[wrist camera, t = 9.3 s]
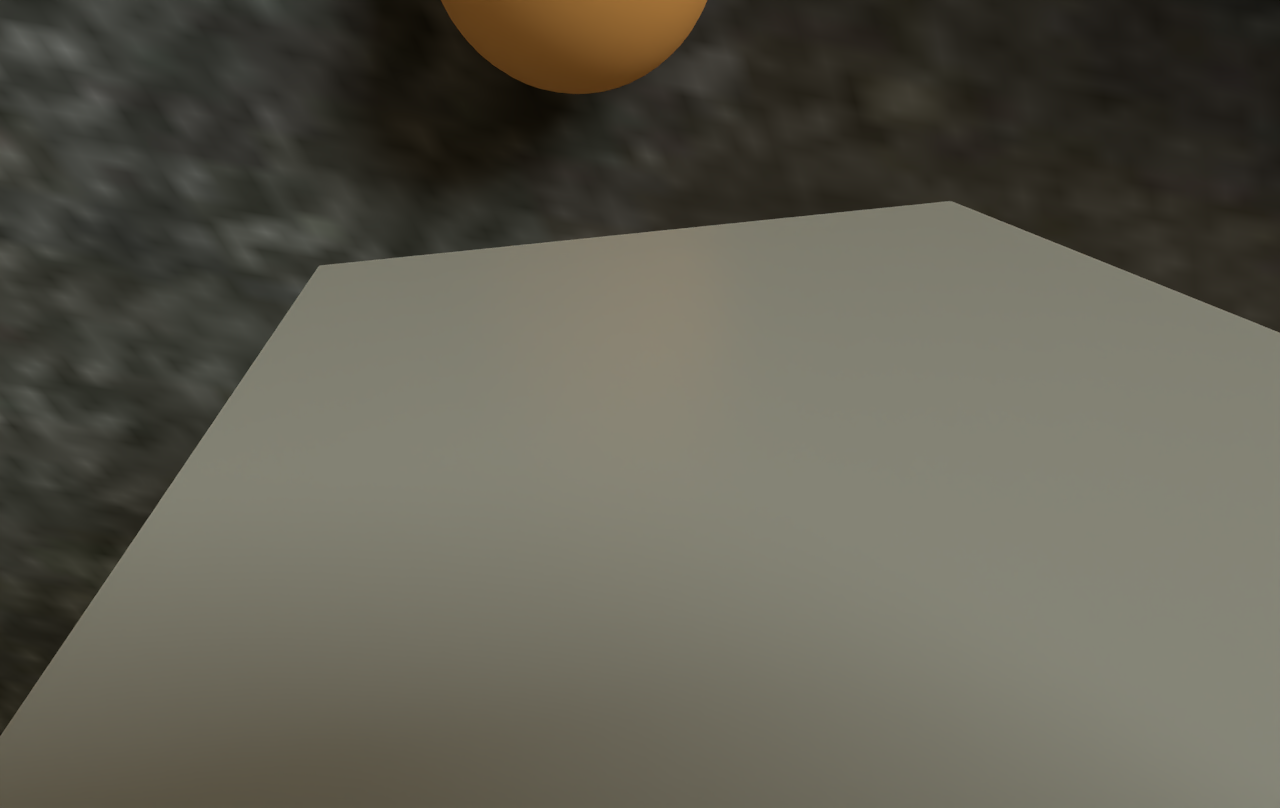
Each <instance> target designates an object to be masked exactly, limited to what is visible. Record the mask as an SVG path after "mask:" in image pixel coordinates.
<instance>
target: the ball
mask: <svg viewBox="0 0 1280 808" xmlns="http://www.w3.org/2000/svg"><path fill="white" fill-rule="evenodd" d="M441 2H442V4H443V6H444V7H445V9H446V11H447V13H448V15H449V16H450V18H451V20H452V21H453V23H454V24H455V26H456V27H457V28H458V30H459V31H460V32H461V34H462V35H463V36H464V38H465V39H466V40H467V41H468V42H469V43H470V44H471V45H472V47H473V48H474V49H475V50H476V51H477V52H478V53H479V54H480V55H481V56H483V57H484V58H485V59H486V60H487V61H489V62H490V63H491V64H492V65H494V66H495V67H497V68H498V69H500V70H501V71H503V72H505V73H506V74H508V75H509V76H511V77H512V78H515V79H517V80H519V81H521V82H523V83H525V84H527V85H530V86H533V87H536V88H539V89H543V90H548V91H553V92H558V93H569V94H590V93H597V92H603V91H607V90H611V89H615V88H618V87H621V86H623V85H626V84H629V83H631V82H633V81H635V80H637V79H639V78H641V77H643V76H644V75H646V74H647V73H649V72H650V71H652V70H653V69H655V68H656V67H657V66H659V65H660V64H661V63H662V62H663V61H665V60H666V59H667V58H668V57H669V56H671V55H672V53H673V52H674V51H675V50H676V49H677V48H678V47H679V46H680V45H681V44H682V43H683V41H684V40H685V39H686V37H687V36H688V35H689V33H690V32H691V31H692V29H693V27H694V25H695V24H696V22H697V20H698V18H699V17H700V15H701V13H702V11H703V9H704V7H705V4H706V2H707V0H441Z"/></svg>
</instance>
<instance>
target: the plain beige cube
mask: <svg viewBox="0 0 1280 808" xmlns="http://www.w3.org/2000/svg"><path fill="white" fill-rule="evenodd" d="M0 808H1280V333H1279V332H1276V331H1274V330H1271V329H1269V328H1266V327H1264V326H1261V325H1259V324H1256V323H1254V322H1251V321H1249V320H1246V319H1244V318H1241V317H1239V316H1236V315H1234V314H1231V313H1229V312H1226V311H1224V310H1221V309H1219V308H1216V307H1214V306H1211V305H1209V304H1206V303H1204V302H1201V301H1199V300H1196V299H1194V298H1191V297H1189V296H1186V295H1184V294H1181V293H1179V292H1176V291H1174V290H1172V289H1169V288H1167V287H1164V286H1162V285H1159V284H1157V283H1154V282H1152V281H1149V280H1147V279H1144V278H1142V277H1139V276H1137V275H1134V274H1132V273H1129V272H1127V271H1124V270H1122V269H1119V268H1117V267H1114V266H1112V265H1109V264H1107V263H1104V262H1102V261H1099V260H1097V259H1094V258H1092V257H1089V256H1087V255H1084V254H1082V253H1079V252H1077V251H1074V250H1072V249H1069V248H1067V247H1064V246H1062V245H1059V244H1057V243H1054V242H1052V241H1049V240H1047V239H1044V238H1042V237H1039V236H1037V235H1034V234H1032V233H1029V232H1027V231H1024V230H1022V229H1019V228H1017V227H1014V226H1012V225H1009V224H1007V223H1004V222H1002V221H999V220H997V219H994V218H992V217H989V216H987V215H984V214H982V213H979V212H977V211H974V210H972V209H969V208H967V207H964V206H962V205H959V204H957V203H954V202H952V201H947V202H937V203H928V204H918V205H908V206H898V207H889V208H879V209H869V210H859V211H849V212H840V213H830V214H820V215H810V216H801V217H791V218H781V219H771V220H761V221H752V222H742V223H732V224H722V225H713V226H703V227H693V228H683V229H673V230H664V231H654V232H644V233H634V234H625V235H615V236H605V237H595V238H585V239H576V240H566V241H556V242H546V243H537V244H527V245H517V246H507V247H497V248H488V249H478V250H468V251H458V252H449V253H439V254H429V255H419V256H409V257H400V258H390V259H380V260H370V261H361V262H351V263H341V264H331V265H322V266H319V267H318V268H317V270H316V271H315V273H314V274H313V275H312V277H311V278H310V280H309V281H308V283H307V284H306V286H305V287H304V289H303V290H302V292H301V293H300V295H299V296H298V298H297V299H296V301H295V302H294V304H293V305H292V306H291V308H290V309H289V311H288V312H287V314H286V315H285V317H284V318H283V320H282V321H281V323H280V324H279V326H278V327H277V329H276V330H275V332H274V333H273V335H272V336H271V337H270V339H269V340H268V342H267V343H266V345H265V346H264V348H263V349H262V351H261V352H260V354H259V355H258V357H257V358H256V360H255V361H254V363H253V364H252V366H251V367H250V368H249V370H248V371H247V373H246V374H245V376H244V377H243V379H242V380H241V382H240V383H239V385H238V386H237V388H236V389H235V391H234V392H233V394H232V395H231V396H230V398H229V399H228V401H227V402H226V404H225V405H224V407H223V408H222V410H221V411H220V413H219V414H218V416H217V417H216V419H215V420H214V422H213V423H212V425H211V426H210V427H209V429H208V430H207V432H206V433H205V435H204V436H203V438H202V439H201V441H200V442H199V444H198V445H197V447H196V448H195V450H194V451H193V453H192V454H191V456H190V457H189V458H188V460H187V461H186V463H185V464H184V466H183V467H182V469H181V470H180V472H179V473H178V475H177V476H176V478H175V479H174V481H173V482H172V484H171V485H170V487H169V488H168V489H167V491H166V492H165V494H164V495H163V497H162V498H161V500H160V501H159V503H158V504H157V506H156V507H155V509H154V510H153V512H152V513H151V515H150V516H149V517H148V519H147V520H146V522H145V523H144V525H143V526H142V528H141V529H140V531H139V532H138V534H137V535H136V537H135V538H134V540H133V541H132V543H131V544H130V546H129V547H128V548H127V550H126V551H125V553H124V554H123V556H122V557H121V559H120V560H119V562H118V563H117V565H116V566H115V568H114V569H113V571H112V572H111V574H110V575H109V577H108V578H107V579H106V581H105V582H104V584H103V585H102V587H101V588H100V590H99V591H98V593H97V594H96V596H95V597H94V599H93V600H92V602H91V603H90V605H89V606H88V608H87V609H86V610H85V612H84V613H83V615H82V616H81V618H80V619H79V621H78V622H77V624H76V625H75V627H74V628H73V630H72V631H71V633H70V634H69V636H68V637H67V638H66V640H65V641H64V643H63V644H62V646H61V647H60V649H59V650H58V652H57V653H56V655H55V656H54V658H53V659H52V661H51V662H50V664H49V665H48V667H47V668H46V669H45V671H44V672H43V674H42V675H41V677H40V678H39V680H38V681H37V683H36V684H35V686H34V687H33V689H32V690H31V692H30V693H29V695H28V696H27V698H26V699H25V700H24V702H23V703H22V705H21V706H20V708H19V709H18V711H17V712H16V714H15V715H14V717H13V718H12V720H11V721H10V723H9V724H8V726H7V727H6V729H5V730H4V731H3V733H2V734H1V736H0Z"/></svg>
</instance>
